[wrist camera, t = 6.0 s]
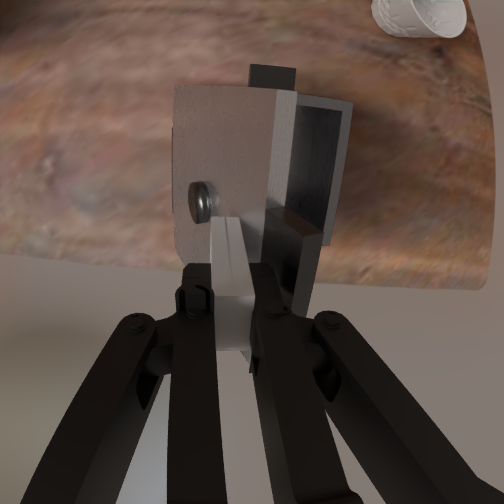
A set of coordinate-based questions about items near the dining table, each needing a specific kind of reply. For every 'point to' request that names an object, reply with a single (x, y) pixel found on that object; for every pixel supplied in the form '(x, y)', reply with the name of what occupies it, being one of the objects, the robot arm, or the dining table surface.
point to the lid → (241, 182)
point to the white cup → (420, 17)
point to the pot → (312, 149)
